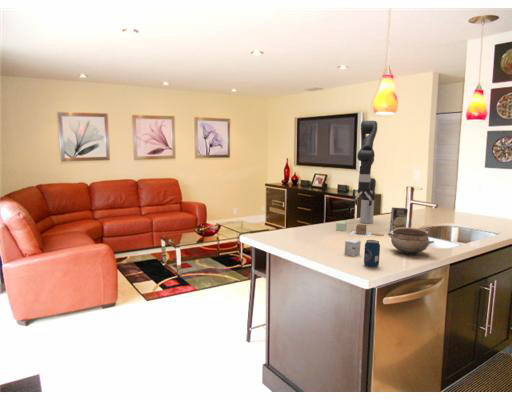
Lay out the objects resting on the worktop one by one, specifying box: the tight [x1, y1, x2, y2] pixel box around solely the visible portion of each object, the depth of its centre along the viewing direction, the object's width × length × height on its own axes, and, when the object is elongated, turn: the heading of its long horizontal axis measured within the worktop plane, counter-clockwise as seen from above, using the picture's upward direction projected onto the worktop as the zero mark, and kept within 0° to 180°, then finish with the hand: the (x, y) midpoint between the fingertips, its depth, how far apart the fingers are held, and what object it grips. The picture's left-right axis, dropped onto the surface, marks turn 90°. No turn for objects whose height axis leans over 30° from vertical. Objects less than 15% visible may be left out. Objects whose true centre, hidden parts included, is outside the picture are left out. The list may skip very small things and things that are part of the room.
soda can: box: [363, 239, 381, 269], centre depth 187 cm, size 7×7×12 cm
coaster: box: [371, 232, 384, 237], centre depth 252 cm, size 8×8×1 cm
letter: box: [348, 230, 373, 238], centre depth 255 cm, size 12×13×1 cm
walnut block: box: [355, 223, 367, 235], centre depth 254 cm, size 6×6×6 cm
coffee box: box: [389, 206, 409, 232], centre depth 262 cm, size 9×6×16 cm
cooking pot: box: [387, 226, 435, 255], centre depth 210 cm, size 25×19×12 cm
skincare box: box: [344, 238, 362, 257], centre depth 206 cm, size 6×6×7 cm
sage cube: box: [335, 221, 347, 232], centre depth 264 cm, size 6×6×6 cm
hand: (363, 205), depth 259 cm, fingers open, 8 cm apart
